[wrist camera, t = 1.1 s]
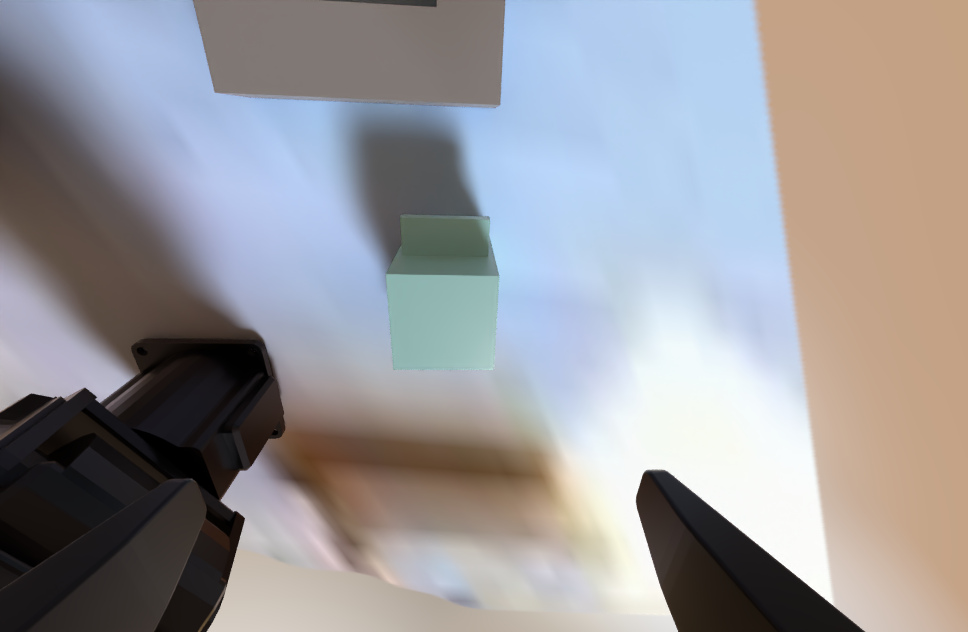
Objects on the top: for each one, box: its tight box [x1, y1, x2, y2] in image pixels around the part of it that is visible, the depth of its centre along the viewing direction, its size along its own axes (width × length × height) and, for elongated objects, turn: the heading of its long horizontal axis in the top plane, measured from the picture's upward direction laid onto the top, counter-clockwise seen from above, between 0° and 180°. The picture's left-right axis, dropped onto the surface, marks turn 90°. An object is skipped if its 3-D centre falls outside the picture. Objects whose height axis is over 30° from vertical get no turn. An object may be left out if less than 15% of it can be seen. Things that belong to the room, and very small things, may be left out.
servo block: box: [386, 214, 499, 370], centre depth 17 cm, size 4×7×6 cm, turn 178°
